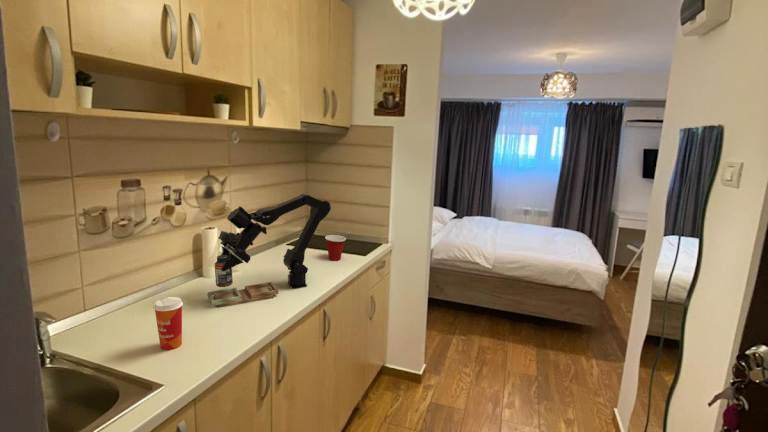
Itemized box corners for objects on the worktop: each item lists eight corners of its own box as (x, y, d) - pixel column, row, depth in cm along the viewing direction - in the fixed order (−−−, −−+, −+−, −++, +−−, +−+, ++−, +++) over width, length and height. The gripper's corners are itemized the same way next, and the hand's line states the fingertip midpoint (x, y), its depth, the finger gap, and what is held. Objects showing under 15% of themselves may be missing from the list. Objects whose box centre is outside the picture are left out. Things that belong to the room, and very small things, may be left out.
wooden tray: (270, 287, 169) (270, 281, 169) (279, 297, 159) (279, 291, 159) (207, 297, 156) (206, 291, 156) (212, 308, 146) (211, 302, 146)
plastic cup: (341, 263, 204) (341, 240, 201) (321, 261, 206) (321, 238, 204) (348, 257, 214) (349, 235, 212) (329, 255, 217) (329, 233, 214)
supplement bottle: (220, 281, 156) (219, 253, 154) (235, 282, 156) (234, 254, 153) (212, 287, 150) (210, 258, 148) (228, 288, 150) (226, 258, 148)
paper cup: (151, 346, 119) (147, 302, 117) (176, 336, 126) (173, 294, 123) (165, 355, 115) (162, 309, 112) (191, 344, 121) (188, 300, 119)
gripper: (224, 218, 158) (196, 250, 153) (240, 228, 143) (209, 263, 139) (245, 235, 164) (218, 266, 160) (262, 246, 150) (233, 280, 145)
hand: (219, 268), depth 151 cm, fingers closed on supplement bottle, 6 cm apart
